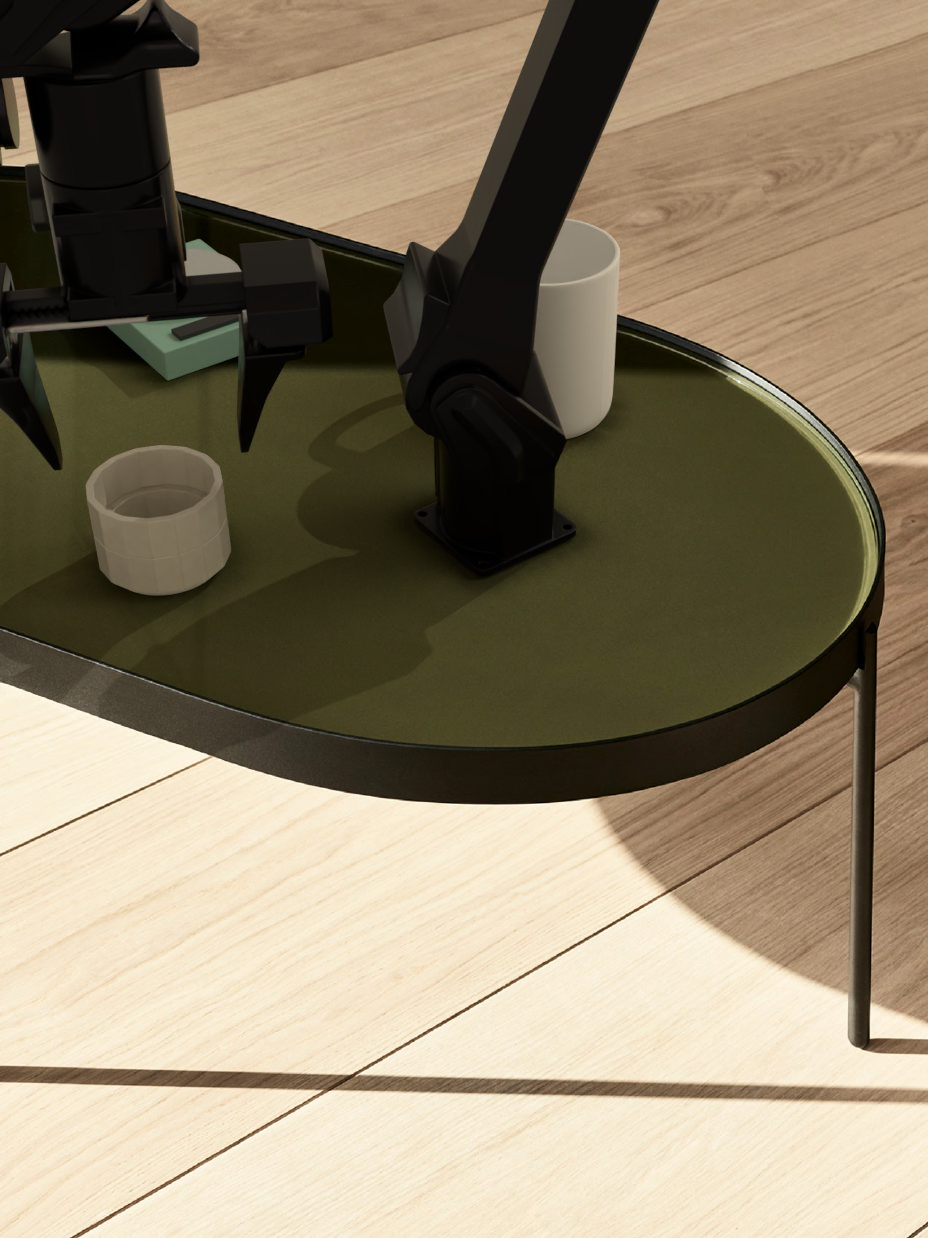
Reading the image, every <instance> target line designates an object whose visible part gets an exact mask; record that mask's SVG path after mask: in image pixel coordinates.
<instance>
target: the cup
mask: <svg viewBox="0 0 928 1238" xmlns="http://www.w3.org/2000/svg"><path fill="white" fill-rule="evenodd" d="M620 265H621V249H620V246H619V244H618V242H617V240H616V239H615V238H614V237H613V236H612V235H611V234H610V233H609V232H607V231H605V230H604V229H602V228H600V227H598V226H596V225H593V224H592V223H587V222H585V221H582V220H577V219H572V218H567V217H566V219H565V221H564V223H563V226H562V228H561V230H560V233H559V235H558V237H557V240H556V242H555V244H554V247H553V249H552V251H551V254H550V256H549V258H548V261H547V263H546V265H545V268H544V270H543V273H542V276H541V280H540V286H539V296H538V307H537V318H536V328H535V339H534V349H533V350H535V351H536V354H537V357H538V360H539V363H540V365H541V368H542V371H543V374H544V377H545V380H546V383H547V386H548V388H549V391H550V394H551V397H552V400H553V403H554V406H555V408H556V411H557V414H558V417H559V420H560V423H561V426H562V429H563V431H564V434H565V437H566V440H569V439H573V438H576V437H579V436H582V435H584V434H586V433H588V432H590V431H591V430H593V429H595V428H596V427H597V426H599V424H601V422H602V421H603V420H604V419H605V418H606V416H607V415H608V414H609V411H610V409H611V405H612V401H613V394H614V379H615V362H616V344H617V343H616V342H617V324H618V323H617V322H618V305H619V304H618V302H619V284H620Z"/></svg>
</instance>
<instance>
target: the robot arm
mask: <svg viewBox="0 0 928 1238" xmlns="http://www.w3.org/2000/svg"><path fill="white" fill-rule="evenodd" d="M140 1H141V0H0V167H3V155H2V148H3V149H4V150H5V151H6V150H18V149H19V148H20V145H21V144H20V142H21V134H20V119H19V118H20V117H19V110H18V103H17V96H16V90H15V86H14V85H15V84H14V80H13V79H17V78H22V79H23V84H24V90H25V96H26V101H27V106H28V112H29V117H30V123H31V128H32V133H33V138H34V144H35V150H36V156H37V161H38V162H35V163H26V165H24V172H25V174H24V175H25V185H26V196H27V197H26V198H27V205H28V209H29V210H28V211H29V218H30V224H31V227H32V231H33V232H34V233H36V234H39V233H40V234H41V233H51V237H52V242H53V243H52V244H53V247H54V254H55V259H56V264H57V270H58V275H59V280H60V286H50V287H39V288H28V289H16V290H15V285H14V281H13V276H12V271H11V269H10V268H9V265H8V264H7V262H0V410H1V411H2V412H3V413H4V414H5V415H6V416H7V417H8V418H10V420H12V421H13V422H14V424H15V425H16V426H17V427H18V428H19V429H20V430H21V432H22V433H23V434H24V435H25V436H26V438H27V439H28V440H29V441H30V443H31V444H32V445H33V446H34V448H35V449H36V450H37V451H38V453H39V454H40V455H41V456H42V458H43V459H44V460H45V461H46V462H47V464H48V465H49V466H50V467H51V469H52V470H54V471H62V470H63V466H64V465H63V463H64V457H63V452H62V445H61V439H60V434H59V430H58V427H57V423H56V420H55V417H54V415H53V412H52V408H51V405H50V402H49V399H48V396H47V392H46V389H45V386H44V383H43V380H42V377H41V374H40V369H39V367H38V364H37V362H36V357H35V354H34V349H33V343H32V339H31V334H30V333H37V332H49V331H51V332H52V331H59V330H61V331H62V330H73V329H84V328H96V327H107V326H109V325H120V324H132V323H144V322H153V321H164V320H176V319H188V318H199V317H211V316H223V315H234V314H239V356H237V357H238V358H237V360H238V362H237V389H236V391H237V392H236V393H237V395H236V423H237V434H238V442H239V443H238V444H239V451H240V453H241V454H246V453H249V452H250V449H251V447H252V442H253V441H254V437H255V434H256V432H257V428H258V425H259V422H260V420H261V416H262V413H263V409H264V407H265V405H266V402H267V400H268V397H269V395H270V393H271V391H272V389H273V387H274V385H275V383H276V382H277V380H278V378H279V376H280V374H281V372H282V371H283V370H284V369H283V368H284V367H285V365H286V363H288V362H291V361H299V360H301V359H303V358H305V356H306V355H307V353H308V351H307V346H311V345H321V344H325V342H328V340H330V339H332V338H333V337H334V329H333V328H334V327H333V315H332V304H331V302H332V301H331V291H330V286H329V280H328V276H327V270H326V264H325V259H324V254H323V249H322V248H321V247H320V246H319V245H317V244H316V242H314V241H313V240H312V239H310V238H309V237H306V238H295V239H294V238H293V239H284V240H271V241H261V242H260V241H258V242H248V243H239V244H238V245H239V252H240V253H239V255H240V263H241V272H230V273H218V274H206V275H194V276H186V271H185V263H184V261H187V254H186V243H187V242H186V237H185V229H184V222H183V214H182V207H181V203H180V202H179V200H178V198H177V196H176V188H175V187H176V186H175V182H174V173H173V172H174V171H173V165H172V157H171V151H170V143H169V135H168V127H167V122H166V120H167V119H166V112H165V103H164V96H163V89H162V82H161V75H160V70H161V69H162V70H164V69H177V68H191V67H195V66H197V65H198V64H199V62H200V59H201V54H200V52H201V51H200V37H199V28H198V26H197V24H196V23H195V22H193V21H192V20H190V19H188V18H187V17H185V15H183V14H181V13H180V12H178V11H177V10H175V9H173V8H172V7H171V6H170V5H169V4H168V3H167V2H166V1H165V0H145V2H144V4H143V5H142V6H140V8H139V9H137V10H135V11H134V12H132V13H130V14H127V13H126V14H123V13H125V12H126V11H128V10H129V9H131V7H133V6H134V5H136V4H137V3H139V2H140ZM547 1H548V2H547V4H546V7H545V8H544V11H543V13H542V17H541V18H540V22H539V24H538V27H537V29H536V32H535V34H534V36H533V37H534V38H533V39H532V42H531V45H530V47H529V49H528V52H527V55H526V57H525V60H524V63H523V65H522V67H521V70H520V73H519V75H518V78H517V80H516V83H515V85H514V88H513V91H512V93H511V95H510V98H509V101H508V103H507V106H506V108H505V111H504V114H503V116H502V118H501V121H500V123H499V126H498V129H497V131H496V133H495V136H494V138H493V141H492V144H491V146H490V149H489V151H488V154H487V157H486V159H485V162H484V164H483V167H482V169H481V172H480V174H479V177H478V180H477V182H476V185H475V187H474V190H473V192H472V195H471V197H470V199H469V203H468V206H467V207H466V210H465V212H464V215H463V218H462V220H461V222H460V223H459V225H458V227H457V228H456V229H455V231H453V233H452V234H451V235H449V237H448V238H446V239H445V241H444V242H442V243H441V245H439V247H438V248H437V249H436V250H433V249H431V248H429V247H427V246H424V245H422V244H420V243H419V242H417V241H410V242H409V243H408V246H407V249H406V252H405V257H404V263H403V268H402V273H401V277H400V280H399V282H398V284H397V287H396V288H395V290H394V291H393V293H392V294H391V295H390V296H389V298H388V299H387V300H386V301H385V302H384V303H383V305H382V307H383V312H384V317H385V321H386V326H387V331H388V335H389V340H390V343H391V349H392V353H393V357H394V362H395V366H396V372H397V374H398V377H399V378H398V379H399V383H400V387H401V392H402V396H403V401H404V406H405V409H406V411H407V413H408V415H409V417H410V418H411V420H412V422H413V424H414V425H415V426H416V427H418V428H419V429H420V430H421V431H422V432H424V433H425V434H426V435H428V436H431V437H433V466H434V495H435V498H436V501H435V502H433V503H430V504H428V505H426V506H423V507H421V508H418V509H416V510H415V511H414V512H413V523H414V524H415V525H416V526H418V527H419V528H420V529H421V530H422V531H424V532H425V533H426V534H427V535H428V536H429V537H430V538H432V539H433V540H434V541H435V542H436V543H438V544H439V545H440V546H441V547H442V548H444V549H445V550H446V551H447V552H448V553H450V555H452V556H453V557H454V558H455V559H457V560H458V561H459V562H460V563H461V564H463V565H464V566H465V567H467V569H469V571H471V572H472V573H473V574H475V575H476V576H479V577H488V576H491V575H493V574H495V573H498V572H500V571H502V570H504V569H506V568H509V567H511V566H514V565H516V564H517V563H520V562H522V561H524V560H526V559H529V558H531V557H533V556H535V555H538V554H540V553H542V552H544V551H546V550H548V549H551V548H554V547H555V546H557V545H560V544H562V543H564V542H566V541H568V540H571V539H573V538H574V537H576V536H577V524H575V523H574V522H573V521H572V520H571V519H569V518H568V517H566V516H565V515H564V514H562V513H561V512H560V511H559V510H557V509H556V508H555V492H556V467H557V465H558V462H559V460H560V458H561V456H562V453H563V451H564V449H565V446H566V445H567V440H568V439H566V437H565V434H564V431H563V429H562V426H561V423H560V420H559V417H558V414H557V411H556V408H555V406H554V403H553V400H552V397H551V394H550V391H549V388H548V386H547V383H546V380H545V377H544V374H543V371H542V368H541V365H540V363H539V360H538V357H537V354H536V351H535V350H533V349H534V339H535V328H536V318H537V307H538V296H539V286H540V280H541V276H542V273H543V270H544V268H545V265H546V263H547V261H548V258H549V256H550V254H551V251H552V249H553V247H554V244H555V242H556V240H557V237H558V235H559V233H560V230H561V228H562V226H563V223H564V221H565V219H566V218H567V216H568V214H569V212H570V209H571V207H572V204H573V202H574V200H575V198H576V195H577V192H578V191H579V189H580V186H581V184H582V182H583V179H584V177H585V174H586V172H587V170H588V168H589V165H590V163H591V162H592V161H591V160H592V158H593V156H594V155H595V152H596V149H597V147H598V144H599V143H600V139H601V138H602V135H603V133H604V131H605V128H606V126H607V124H608V121H609V119H610V117H611V114H612V111H613V109H614V107H615V105H616V102H617V100H618V98H619V96H620V93H621V91H622V89H623V87H624V84H625V81H626V79H627V77H628V75H629V73H630V70H631V68H632V65H633V63H634V61H635V58H636V56H637V55H638V52H639V50H640V47H641V46H642V45H641V44H642V42H643V40H644V38H645V35H646V33H647V31H648V28H649V26H650V24H651V21H652V19H653V17H654V14H655V12H656V9H657V8H658V5H659V3H660V0H547Z"/></svg>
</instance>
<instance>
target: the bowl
mask: <svg viewBox="0 0 928 1238" xmlns="http://www.w3.org/2000/svg"><path fill="white" fill-rule="evenodd" d="M85 494H86V503H87V508H88V513H89V518H90V524H91V529H92V534H93V540H94V546H95V550H96V555H97V561H98V566H99V570H100V571H101V572H102V574H103V575H105V577H106V578H107V580H109V581H110V582H111V583H112V584H113V585H116V586H119V587H121V588H123V589H126V590H127V591H130V592H133V593H135V594H140V595H146V596H155V597H156V596H169V595H170V596H172V595H176V594H181V593H184V592H188V591H191V590H193V589H195V588H197V587H199V586H202V585H203V584H205V583H207V582H208V581H209V580H210V579H212V577H214V576H215V575H216V574H217V573H218V572H220V571H221V570H222V569H223V568H224V567H225V566H226V564H227V563H228V559H229V558H230V555H231V553H232V545H231V537H230V528H229V520H228V513H227V504H226V498H225V488H224V481H223V476H222V471H221V467H220V465H219V464H218V463H217V462H216V461H214V459H212V458H211V457H210V456H209V455H208V454H206V453H204V452H202V451H198V450H195V449H193V448H190V447H187V446H179V445H167V444H158V445H150V446H143V447H142V446H141V447H135V448H133V449H130V450H127V451H124V452H122V453H119V454H116V455H113V456H112V457H110V458H108V459H107V460H106V461H104V462H103V463H101V464H100V465H99V466H97V467H96V468H95V469H94V470H93V471H92V473H91V474H90V476H89V478H88V480H87V481H86V483H85Z"/></svg>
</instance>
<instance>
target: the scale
mask: <svg viewBox="0 0 928 1238" xmlns="http://www.w3.org/2000/svg"><path fill="white" fill-rule="evenodd" d="M185 243H186V254H187V261H184V263H185V271H186V276H194V275H206V274H218V273H230V272H241V271H242V269H241V268H240V266H239V265H238V263H236V262H235V261H234V260H233V259H231V258H230V257H228V256H226V255H223V254H221V253H219V252H217V251H216V250H215V249H214V248H212V247H211V246H210V245H208V244H207V243H206V242H204V241H203V240H202V239H200V238H197V239H194V240H191V241H188V242H185ZM106 327H107V328H108V330H110V331H111V332H112V333H113V334H114V335H116V336H117V337H118V338H119V339H120V340H121V341H122V342H123V343H125V344H126V345H127V346H128V347H129V348H130V349H131V350H132V351H134V352H135V353H136V355H138V356H139V357H140V358H141V359H142V360H144V362H146V363H147V364H148V365H149V366H150V367H151V368H152V369H154V371H156V372H157V373H158V374H159V375H161V377H163V378H164V379H165V380H166V381H172V380H175V379H177V378H180V377H183V376H186V375H189V374H192V373H194V372H197V371H200V370H202V369H203V370H204V369H207V368H209V367H212V366H214V365H217V364H220V363H223V362H225V361H228V360H229V361H230V360H231V359H234V358H237V357H238V356H239V314H234V315H223V316H211V317H199V318H188V319H176V320H164V321H153V322H144V323H132V324H120V325H109V326H106Z"/></svg>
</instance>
